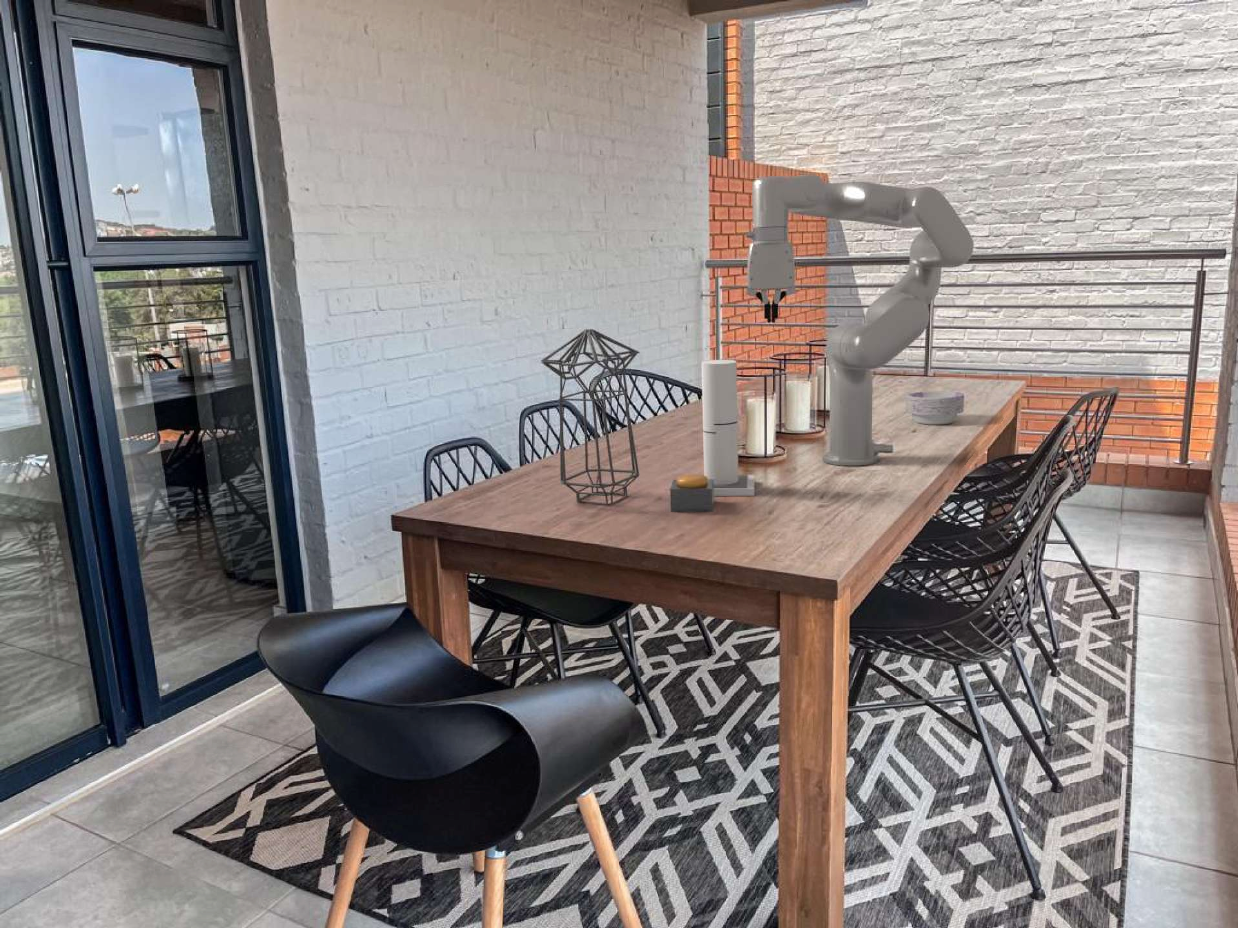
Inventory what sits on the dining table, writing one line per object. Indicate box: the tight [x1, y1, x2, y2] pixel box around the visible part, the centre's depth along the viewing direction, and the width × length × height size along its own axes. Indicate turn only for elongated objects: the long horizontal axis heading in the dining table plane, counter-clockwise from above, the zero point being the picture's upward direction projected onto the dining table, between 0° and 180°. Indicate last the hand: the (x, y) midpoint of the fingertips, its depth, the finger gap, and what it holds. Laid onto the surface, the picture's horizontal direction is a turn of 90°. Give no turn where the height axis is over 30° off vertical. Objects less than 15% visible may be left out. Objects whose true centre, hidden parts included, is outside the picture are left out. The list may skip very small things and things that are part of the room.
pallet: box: [702, 474, 755, 497], centre depth 203 cm, size 14×12×2 cm
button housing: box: [669, 478, 715, 513], centre depth 189 cm, size 8×8×4 cm
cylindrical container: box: [701, 359, 739, 485], centre depth 200 cm, size 7×7×25 cm
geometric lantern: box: [540, 328, 640, 506], centre depth 195 cm, size 16×16×35 cm
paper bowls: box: [905, 390, 965, 426], centre depth 265 cm, size 15×15×8 cm
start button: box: [676, 474, 708, 488], centre depth 189 cm, size 6×6×5 cm
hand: (771, 322), depth 211 cm, fingers closed
